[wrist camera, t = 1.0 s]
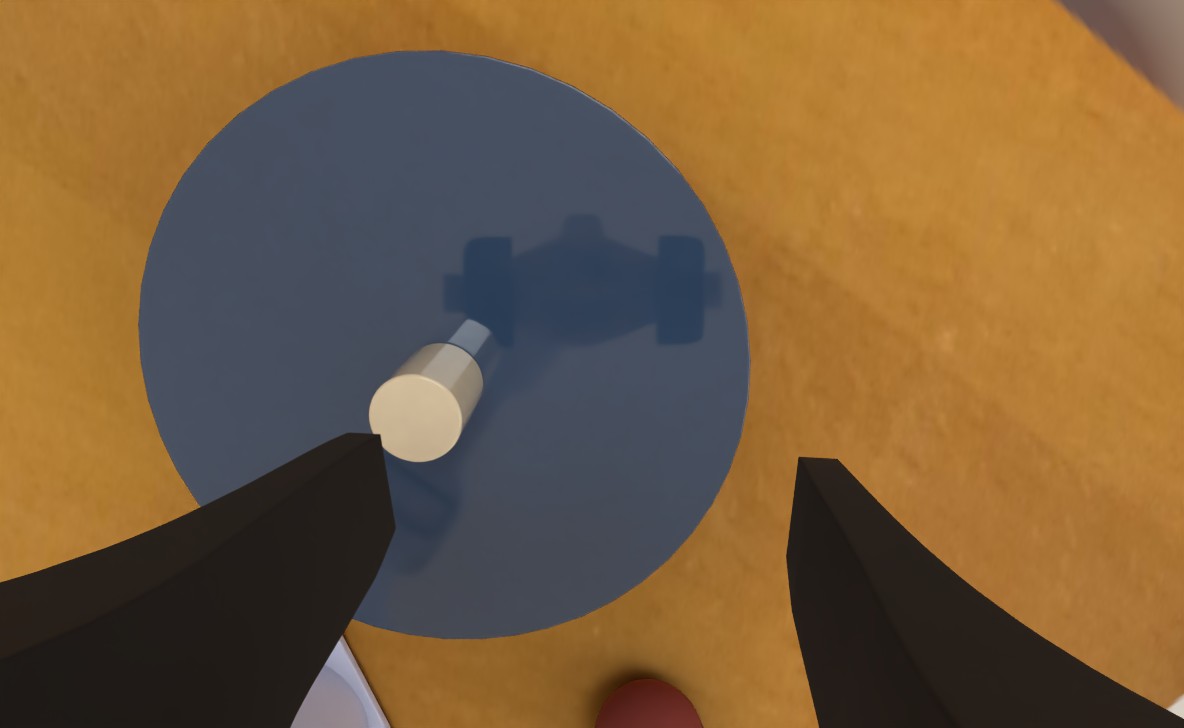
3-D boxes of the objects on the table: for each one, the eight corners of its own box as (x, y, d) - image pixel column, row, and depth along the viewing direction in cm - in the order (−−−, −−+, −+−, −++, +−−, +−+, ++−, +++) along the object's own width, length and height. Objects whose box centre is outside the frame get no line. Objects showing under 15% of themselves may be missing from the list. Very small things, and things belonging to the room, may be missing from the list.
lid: (316, 676, 25) (258, 777, 21) (48, 186, 21) (-92, 193, 16) (808, 533, 23) (851, 615, 19) (636, -48, 18) (644, -108, 14)
